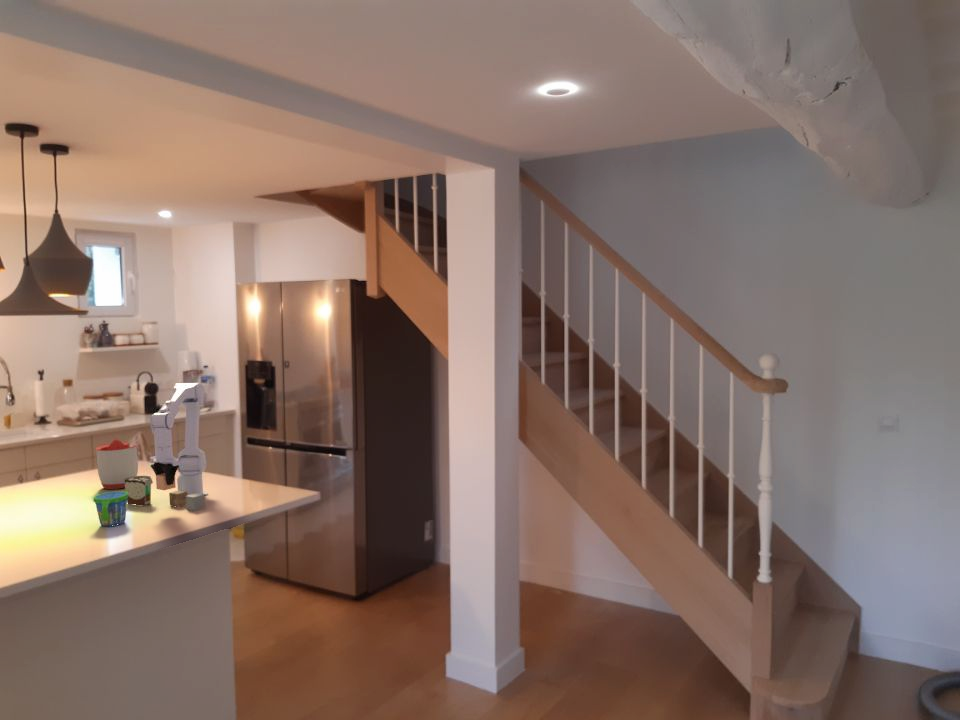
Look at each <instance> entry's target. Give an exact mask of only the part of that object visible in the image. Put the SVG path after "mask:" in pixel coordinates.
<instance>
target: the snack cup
mask: <svg viewBox="0 0 960 720" xmlns="http://www.w3.org/2000/svg"><path fill="white" fill-rule="evenodd" d="M92 499H93V502H94V504H95V506H96V511H97V512H96V513H97V516H98V519H99V523H100V525H103V526H102V527H105V526H110V527H113V526H112V525H117V524H120V525H122V524H123V522H124V523H125V521H126V515H127V514H126V513H127V507H128V506H127V505H128V504H127V499H128V492H126V490H125V491H123V490H117V491H116V490H115V491H107V492H106V491H105V492H102V493H99V494H96V495H94V496H93V498H92ZM121 523H122V524H121ZM117 526H118V525H117Z"/></svg>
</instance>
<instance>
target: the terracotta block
mask: <svg viewBox="0 0 960 720" xmlns="http://www.w3.org/2000/svg"><path fill="white" fill-rule="evenodd" d="M155 483H156V485H155V486H156V490H161V491H168V490H170V489H171V490H172V489H175V488H176V477H175V478H174V483H173V484H171V485H167V483H166V478H165V474H164V473H163V474H159V475H155ZM176 489H177V488H176Z"/></svg>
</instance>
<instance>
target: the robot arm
mask: <svg viewBox="0 0 960 720" xmlns="http://www.w3.org/2000/svg"><path fill="white" fill-rule="evenodd" d="M172 390H173V395H172V397H171V398H170V400H166V401H165V403H164V404H163V405H162V406H161V407H160V409H159V410H158V411H157V412H155V413H153V414H152V415H151V416H150V419H149V425H150V428H151V432H152V435H153V440H154V455H153V456H150V457H149V462H150V463H153V464H150V468H151V469H152V471H153V472H154V474H155V476H156V475H159V474H163V473H164V474H165V478H166V483H167V485H171V484H173V483H174V478H175V479H176V473H177V472H178V473H180V474H179V475H178V477H177V479H176V482H177V491H178V490H183V491H187V493H188V495H191V494H195V493H198V494H204V496H207V495H209V493H208V492H204V486H203V485H204V483H203V473H204V471H206V469H207V459H206V458H207V457H206V452H205V451H204V450H202V449H200V447H199V442H200V440H199V439H200V438H199V436H200V435H199V433H200V413H201V411H200V410H201V409H200V408H201V405H203V404H204V399H205V388H204V386H203V384H202V383H201V382H183V383H182V382H181V383H179V382H177V383H175V385H174V386H173V389H172ZM181 405H182V406H185V409H186V410H185V430H184V431H185V433H184V448H182V450H180V452H178V454H177V458H176V457H174V455H173V454H174V453H173V438H172V428H173V427H174V425H175V424H174V423H175V420H176V416H177V415H178V414H179V412H180V406H181Z"/></svg>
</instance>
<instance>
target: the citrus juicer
mask: <svg viewBox="0 0 960 720" xmlns="http://www.w3.org/2000/svg"><path fill="white" fill-rule="evenodd" d="M95 451H96V452H95V453H96V465H97V474H98V477H99V480H100V483H101V485H102V487H103V488H104V489H106V490H114V489H116V490H119V489H125V483H123V480H124V478H126V477H132V476H138V473H139V472H138V470H139V461H138V460H139V459H138V457H139V456H140V455H141V452H140V451H139V450H138V444H137V443H135V444H134V445H132V446H130V442H122V441H121V440H119V439H118V438H115V439H114V440H112V442H111V443H110V444H104V445H100V446H97V447H95Z"/></svg>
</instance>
